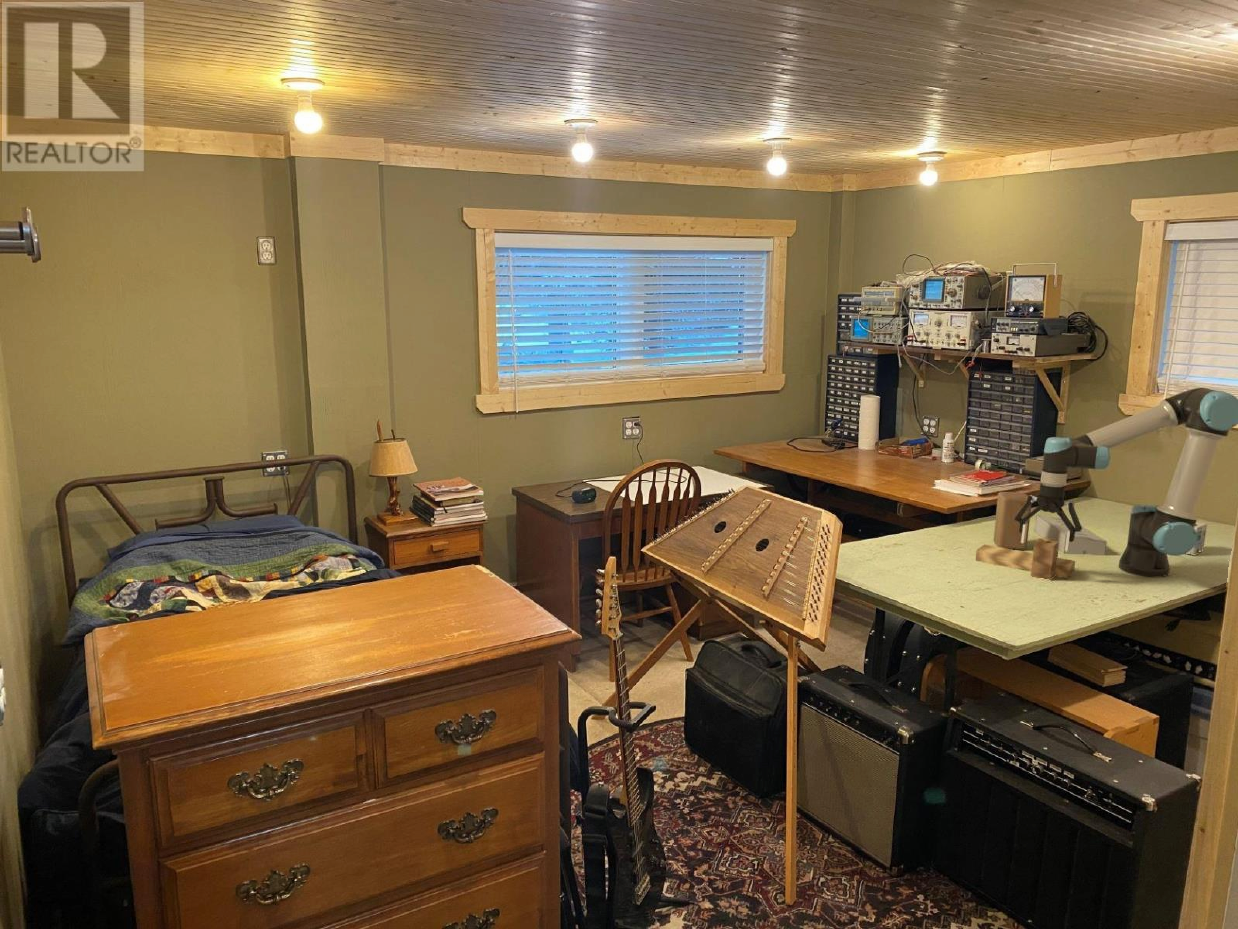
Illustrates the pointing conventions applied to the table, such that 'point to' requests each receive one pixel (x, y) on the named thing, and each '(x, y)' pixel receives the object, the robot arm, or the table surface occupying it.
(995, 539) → the wooden block
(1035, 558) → the wooden box
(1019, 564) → the plank
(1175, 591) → the table surface
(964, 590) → the table surface
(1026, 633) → the table surface
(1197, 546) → the light bulb box
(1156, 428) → the robot arm
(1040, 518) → the warehouse
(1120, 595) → the table surface
